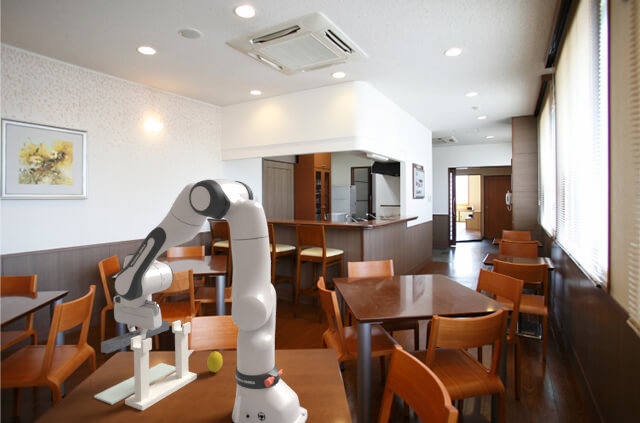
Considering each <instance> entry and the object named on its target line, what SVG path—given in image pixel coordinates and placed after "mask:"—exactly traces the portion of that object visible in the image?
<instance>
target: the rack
mask: <svg viewBox="0 0 640 423" xmlns="http://www.w3.org/2000/svg"><path fill="white" fill-rule="evenodd" d="M191 327H192V326H191V322H190V321H188V322H185V323H183V324H182V320H180V319H178V320H175V321H173V322H171V332H172V334H174V346H175V349H174V350H175V354H174V355H175V356H174V357H175V359H174V360H175V367H176V371H174V372H172V373H170V374H168V375H167V376H165V377H163V378H161V379H159V380H157V381H155V382H154V383H152V384H149V369H150V351H151V350H152V349H153V348H152V347H153V346H152V342H153V340H152V337H148V338H146V339H143V340H141V335H138V336H136V337H133V338H131V344H130V351H131V350H132V351H133V372H134V376H133V377H134V383H135V393H133V394H131V395H130V396H128V397H126V398H124V403H125V405H127V406H129V407H131V408H134V409H137V410H141V411H144V410H146V409H148V408H149V407H151V406H152V405H155V404H156V403H157V402H159V401H161V400H163V399H164V398H166V397H168V396H170V395H171V394H173V393H174V392H177V391H178V390H179V389H181V388H183V387H184V386H186V385H188V384H189V383H191V382H193V381H194V380H196V379H198V374H197V373H194V372H191V371H189V357H188V350H189V334H190V333H191V332H192V328H191Z"/></svg>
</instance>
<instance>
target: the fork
mask: <svg viewBox="0 0 640 423" xmlns="http://www.w3.org/2000/svg"><path fill="white" fill-rule="evenodd" d="M194 350H195V349H188V358H189V357H190V356H191V355H192V353H193V352H194Z"/></svg>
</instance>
